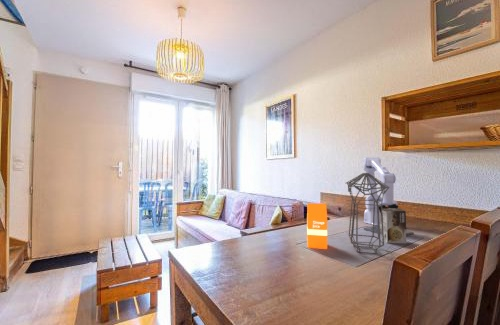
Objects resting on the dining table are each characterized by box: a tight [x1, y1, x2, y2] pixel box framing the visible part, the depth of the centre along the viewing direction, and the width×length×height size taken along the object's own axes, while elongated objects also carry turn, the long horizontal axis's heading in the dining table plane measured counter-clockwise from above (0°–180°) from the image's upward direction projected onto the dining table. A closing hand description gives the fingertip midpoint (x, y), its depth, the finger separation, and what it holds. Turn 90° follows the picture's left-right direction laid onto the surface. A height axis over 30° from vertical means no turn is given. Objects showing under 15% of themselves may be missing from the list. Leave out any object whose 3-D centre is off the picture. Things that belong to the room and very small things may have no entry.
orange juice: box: [306, 202, 328, 250], centre depth 113 cm, size 8×9×20 cm
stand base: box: [363, 224, 415, 236], centre depth 137 cm, size 18×18×5 cm
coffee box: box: [382, 208, 407, 245], centre depth 119 cm, size 9×6×16 cm
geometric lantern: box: [345, 172, 390, 255], centre depth 106 cm, size 16×16×35 cm
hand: (387, 217), depth 137 cm, fingers open, 7 cm apart
